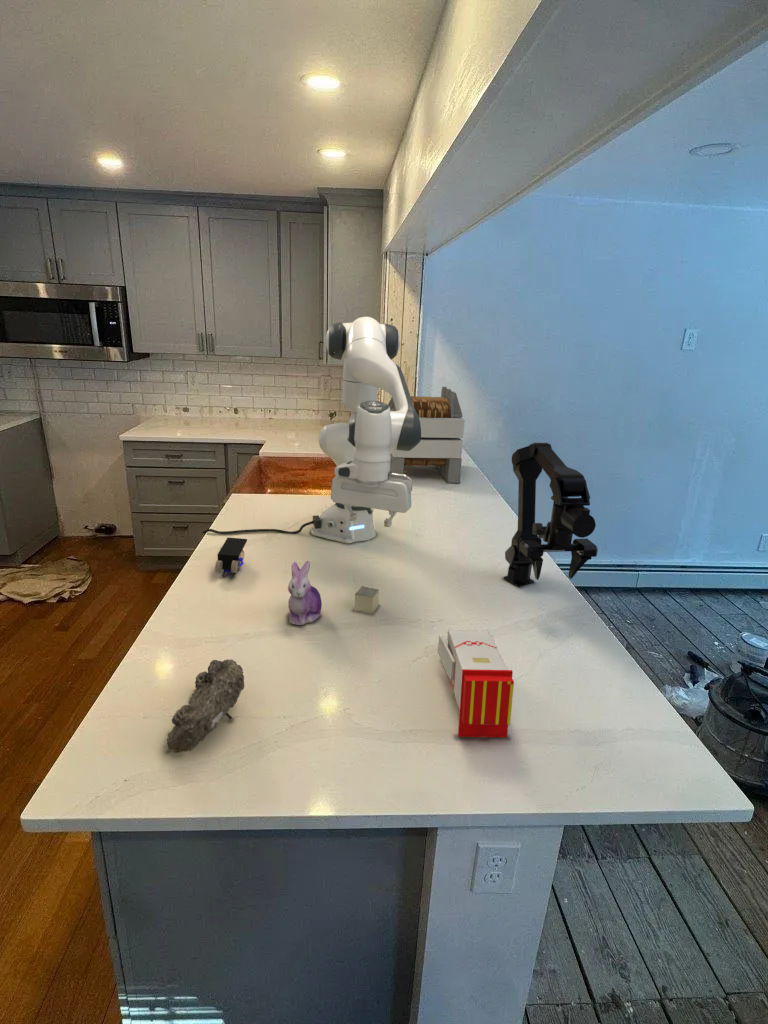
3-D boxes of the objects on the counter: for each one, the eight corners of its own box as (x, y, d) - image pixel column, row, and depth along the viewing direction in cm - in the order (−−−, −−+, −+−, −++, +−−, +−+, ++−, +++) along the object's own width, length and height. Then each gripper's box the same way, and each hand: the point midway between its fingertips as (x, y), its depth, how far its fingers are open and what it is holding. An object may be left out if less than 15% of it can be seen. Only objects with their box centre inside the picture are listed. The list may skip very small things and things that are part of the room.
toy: (488, 613, 130) (523, 677, 101) (484, 667, 133) (517, 744, 104) (435, 612, 130) (455, 676, 101) (432, 666, 133) (451, 743, 103)
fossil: (192, 660, 117) (244, 628, 112) (224, 691, 120) (276, 661, 115) (142, 746, 98) (202, 712, 93) (182, 779, 101) (242, 748, 96)
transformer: (382, 463, 289) (386, 382, 275) (445, 464, 293) (451, 384, 279) (390, 482, 257) (394, 392, 243) (460, 483, 261) (468, 394, 247)
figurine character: (238, 584, 162) (249, 557, 175) (236, 562, 158) (247, 536, 172) (215, 584, 161) (227, 556, 175) (212, 561, 158) (225, 535, 171)
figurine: (293, 630, 138) (292, 574, 133) (280, 610, 146) (279, 557, 141) (329, 622, 142) (330, 568, 137) (314, 603, 150) (315, 552, 145)
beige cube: (372, 614, 147) (372, 597, 145) (354, 610, 148) (354, 594, 147) (378, 605, 151) (379, 589, 150) (361, 601, 153) (361, 585, 151)
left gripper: (416, 472, 137) (413, 525, 141) (338, 462, 143) (337, 513, 147) (409, 479, 131) (406, 534, 136) (328, 468, 137) (327, 521, 142)
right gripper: (581, 510, 150) (572, 564, 155) (514, 511, 147) (507, 566, 152) (603, 526, 140) (592, 582, 145) (532, 527, 137) (523, 585, 142)
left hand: (369, 523), depth 142 cm, fingers open, 8 cm apart
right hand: (553, 578), depth 146 cm, fingers open, 9 cm apart
